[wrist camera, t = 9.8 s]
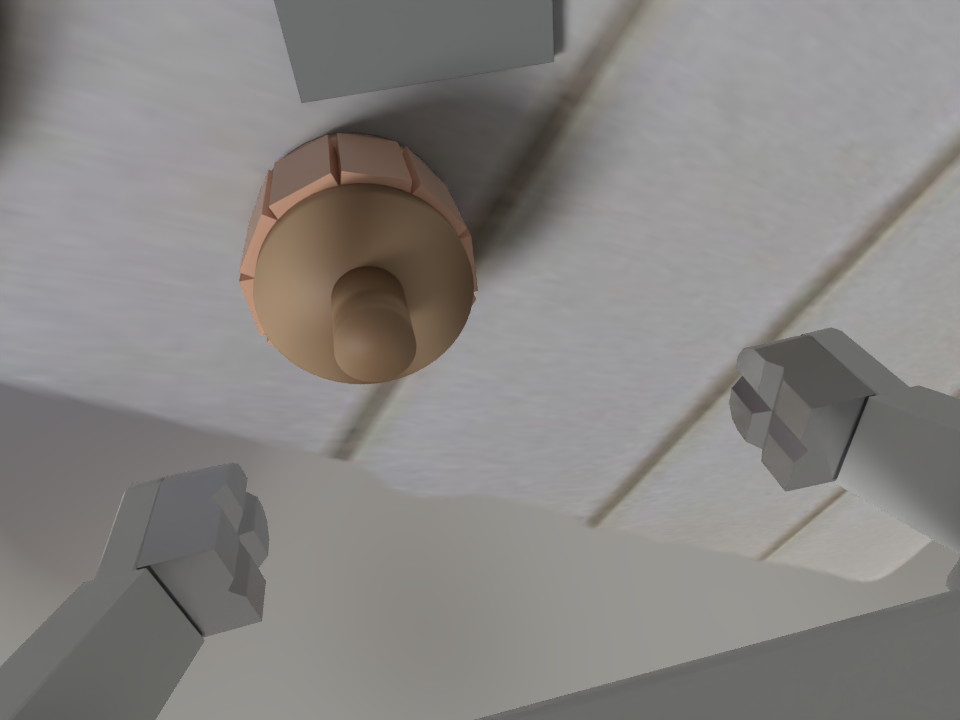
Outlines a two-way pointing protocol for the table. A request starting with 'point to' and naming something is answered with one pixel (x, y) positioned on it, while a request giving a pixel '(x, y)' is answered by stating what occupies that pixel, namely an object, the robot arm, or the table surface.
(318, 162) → the faceted hollow tube
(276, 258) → the lid
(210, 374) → the table surface
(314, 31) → the mat
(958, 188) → the table surface
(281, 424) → the table surface
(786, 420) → the robot arm
